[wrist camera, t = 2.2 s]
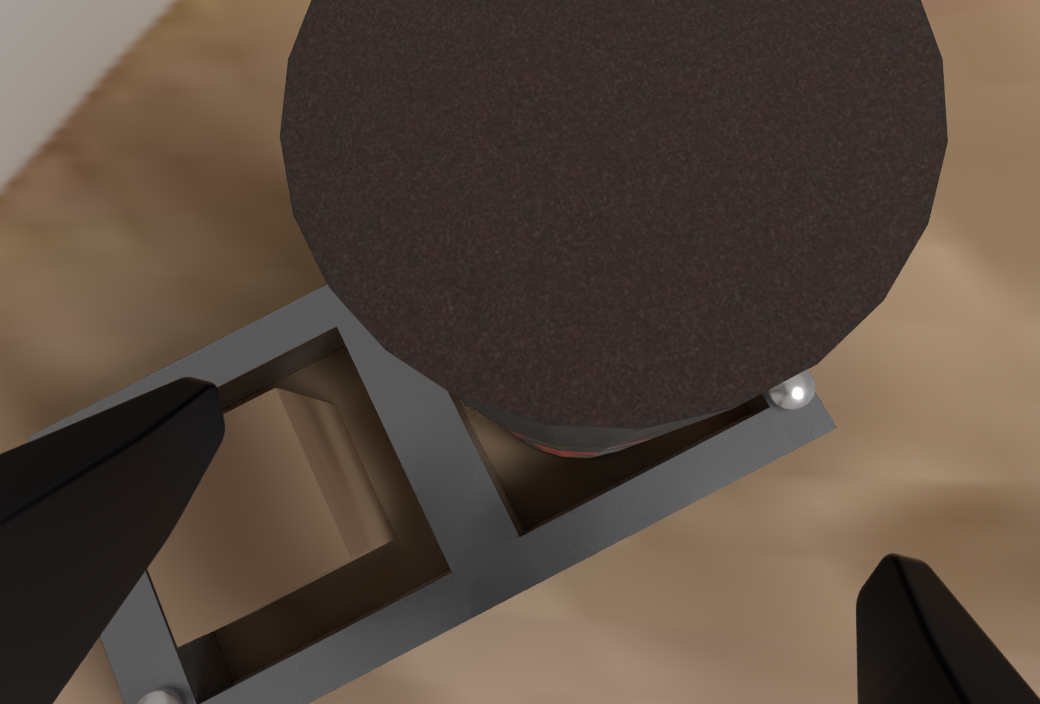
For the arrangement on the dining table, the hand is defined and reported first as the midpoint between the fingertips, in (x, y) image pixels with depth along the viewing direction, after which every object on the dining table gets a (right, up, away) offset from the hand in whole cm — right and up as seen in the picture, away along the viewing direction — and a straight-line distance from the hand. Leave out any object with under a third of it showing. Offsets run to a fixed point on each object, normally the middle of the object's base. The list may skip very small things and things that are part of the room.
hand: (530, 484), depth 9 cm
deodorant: (+2, +1, +12) cm, 12 cm away
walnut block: (-7, -3, +12) cm, 14 cm away
